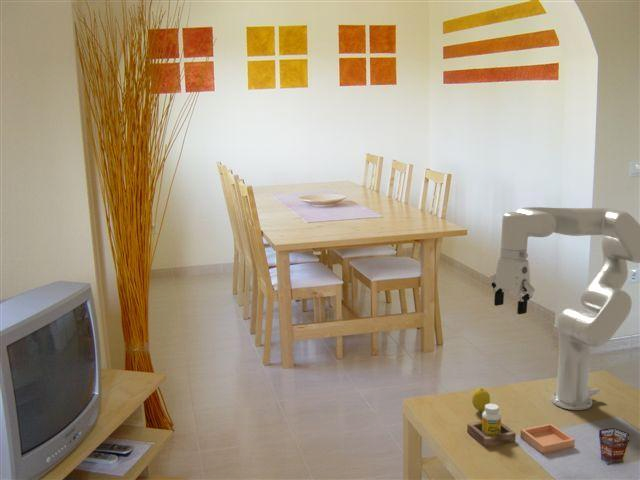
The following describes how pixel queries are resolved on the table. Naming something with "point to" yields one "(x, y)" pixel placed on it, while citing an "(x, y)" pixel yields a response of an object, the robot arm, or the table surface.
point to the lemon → (480, 399)
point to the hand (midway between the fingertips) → (510, 309)
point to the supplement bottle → (491, 420)
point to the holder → (504, 437)
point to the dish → (547, 438)
